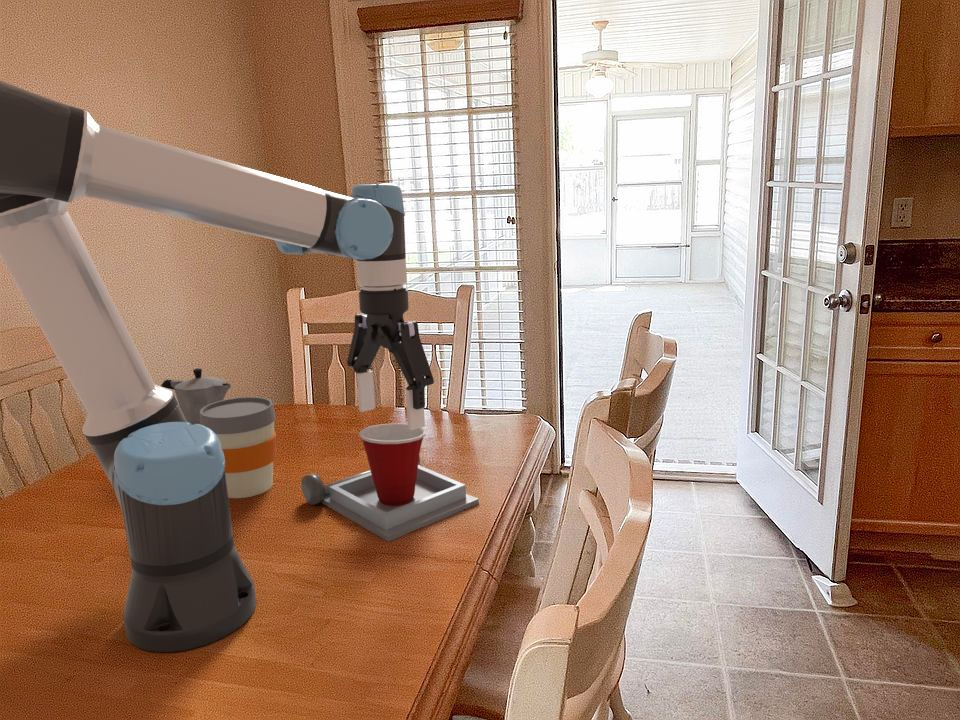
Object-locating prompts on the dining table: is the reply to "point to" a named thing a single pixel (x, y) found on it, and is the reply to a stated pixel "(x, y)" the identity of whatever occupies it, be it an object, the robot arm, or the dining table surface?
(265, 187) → the robot arm
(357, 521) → the tray
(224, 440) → the reusable coffee cup
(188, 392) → the coffeepot
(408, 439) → the plastic cup
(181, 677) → the dining table surface
